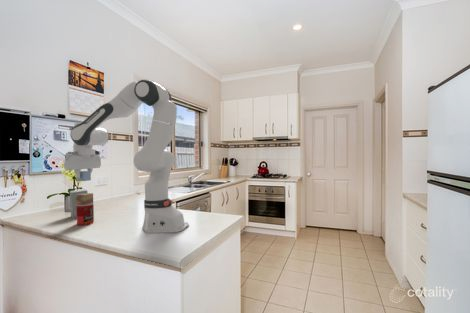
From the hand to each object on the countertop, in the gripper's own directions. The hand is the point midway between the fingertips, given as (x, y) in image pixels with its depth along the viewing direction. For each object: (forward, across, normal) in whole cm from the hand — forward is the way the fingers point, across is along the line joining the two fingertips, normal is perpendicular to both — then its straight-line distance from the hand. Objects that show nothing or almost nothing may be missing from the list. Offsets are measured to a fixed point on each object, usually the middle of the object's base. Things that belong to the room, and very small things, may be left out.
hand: (83, 177), depth 123 cm
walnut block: (+14, 0, 0) cm, 14 cm away
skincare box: (+25, +13, +17) cm, 33 cm away
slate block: (+2, 0, 0) cm, 2 cm away
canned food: (+25, 0, 0) cm, 25 cm away
